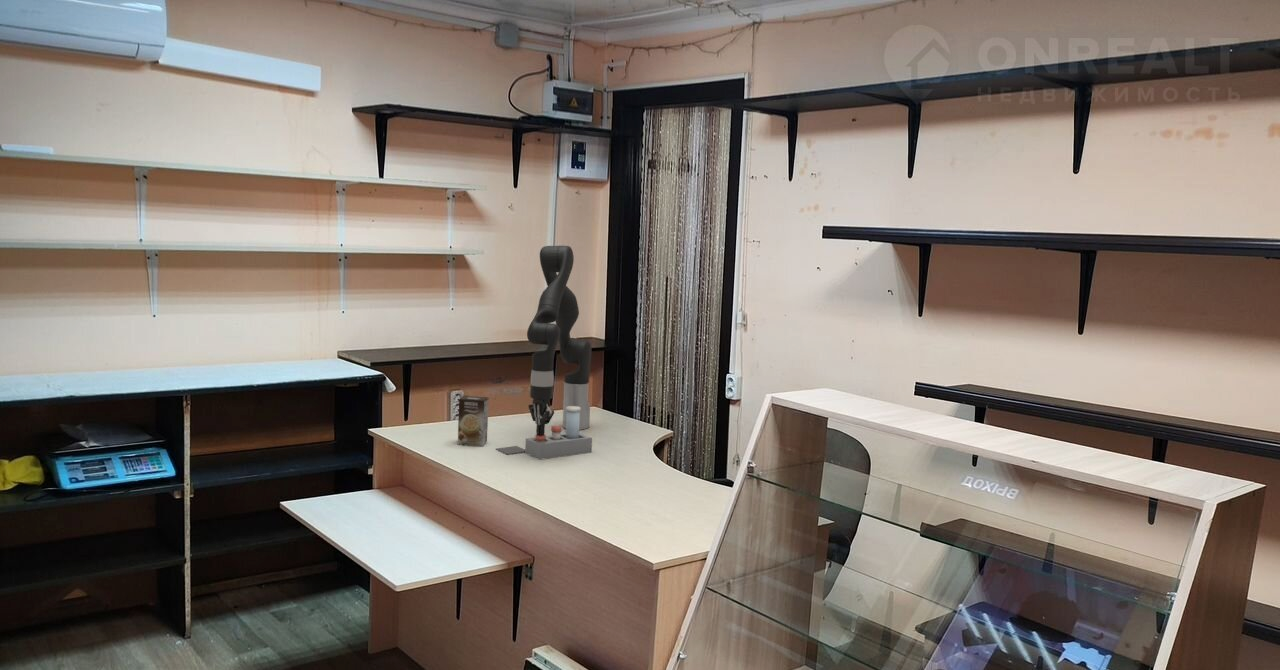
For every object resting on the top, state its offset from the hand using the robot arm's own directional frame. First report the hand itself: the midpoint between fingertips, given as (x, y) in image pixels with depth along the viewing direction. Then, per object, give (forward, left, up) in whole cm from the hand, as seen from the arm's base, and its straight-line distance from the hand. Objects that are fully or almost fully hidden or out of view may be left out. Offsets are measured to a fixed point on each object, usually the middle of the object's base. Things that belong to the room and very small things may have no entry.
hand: (540, 435), depth 305 cm
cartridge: (-13, 0, -7) cm, 14 cm away
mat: (+5, -9, -7) cm, 12 cm away
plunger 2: (-6, 0, -3) cm, 7 cm away
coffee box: (+12, -24, -7) cm, 28 cm away
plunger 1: (0, 0, -5) cm, 6 cm away
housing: (-8, 0, -7) cm, 10 cm away
